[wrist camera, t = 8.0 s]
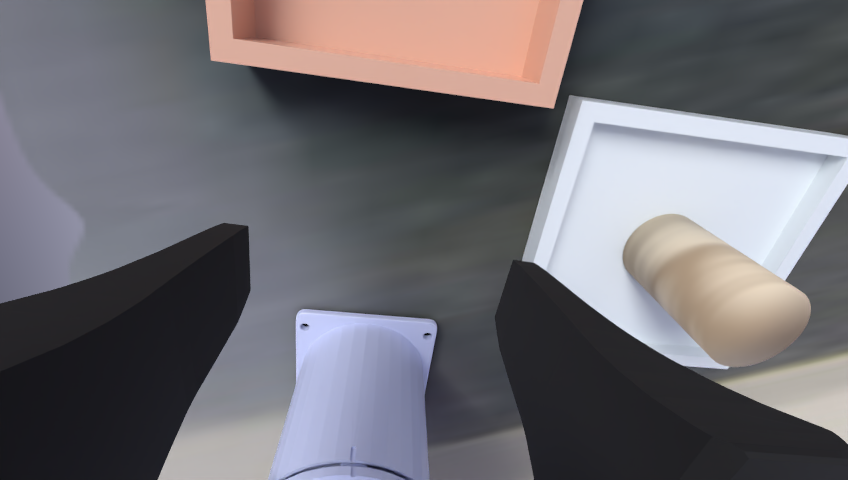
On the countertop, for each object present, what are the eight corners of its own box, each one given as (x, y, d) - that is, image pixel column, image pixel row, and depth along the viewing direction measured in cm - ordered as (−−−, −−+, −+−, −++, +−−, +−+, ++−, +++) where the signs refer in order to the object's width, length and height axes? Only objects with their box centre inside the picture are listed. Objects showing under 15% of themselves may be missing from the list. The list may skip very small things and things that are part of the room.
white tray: (710, 351, 26) (727, 369, 25) (500, 335, 25) (505, 353, 23) (842, 134, 20) (874, 142, 19) (569, 94, 18) (582, 100, 17)
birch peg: (680, 281, 23) (778, 367, 17) (612, 278, 22) (690, 366, 17) (710, 216, 21) (831, 288, 15) (637, 211, 20) (733, 284, 15)
